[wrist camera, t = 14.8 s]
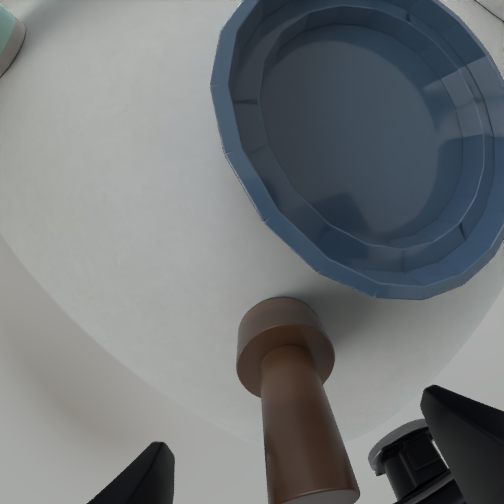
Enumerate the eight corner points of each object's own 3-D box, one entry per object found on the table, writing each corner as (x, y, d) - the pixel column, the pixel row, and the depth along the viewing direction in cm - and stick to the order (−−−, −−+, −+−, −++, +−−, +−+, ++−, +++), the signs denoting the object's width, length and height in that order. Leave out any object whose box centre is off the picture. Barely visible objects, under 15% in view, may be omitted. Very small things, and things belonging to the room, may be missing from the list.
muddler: (323, 357, 15) (383, 507, 5) (247, 373, 15) (249, 535, 5) (314, 288, 14) (412, 443, 4) (229, 306, 14) (205, 487, 4)
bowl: (481, 239, 13) (529, 254, 9) (259, 296, 14) (264, 343, 9) (431, 25, 10) (466, -1, 6) (201, 21, 10) (187, -29, 6)
